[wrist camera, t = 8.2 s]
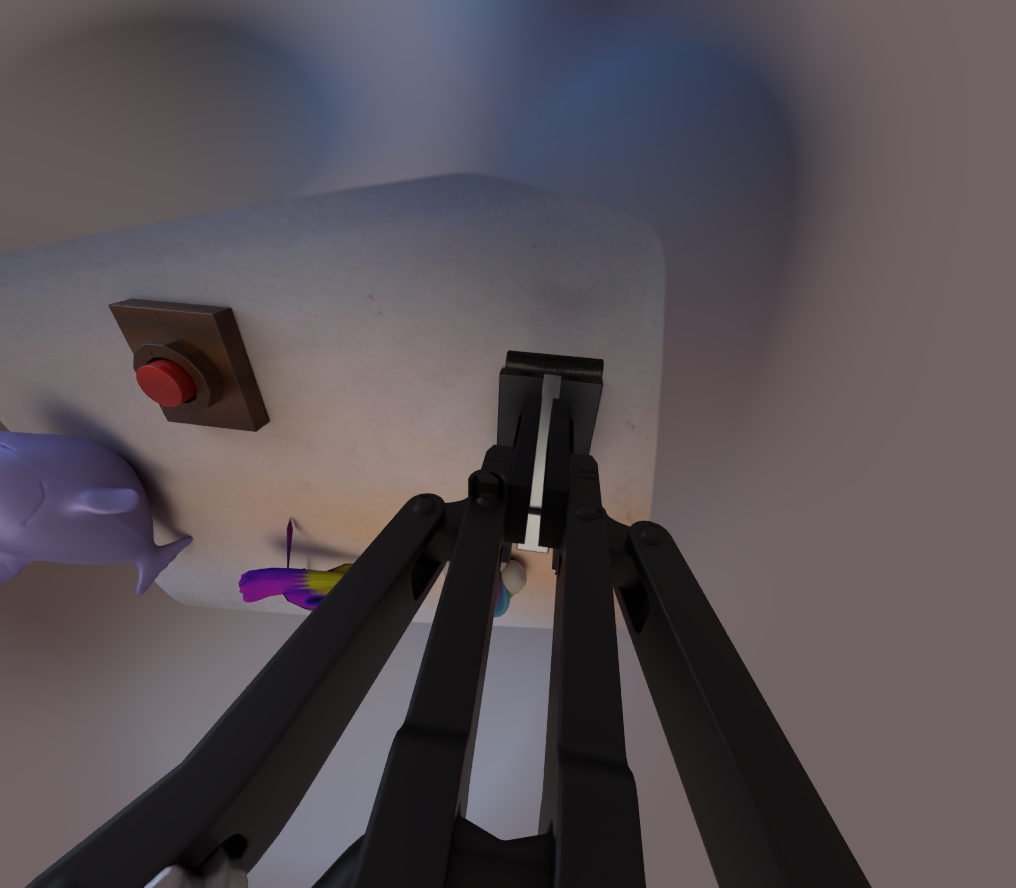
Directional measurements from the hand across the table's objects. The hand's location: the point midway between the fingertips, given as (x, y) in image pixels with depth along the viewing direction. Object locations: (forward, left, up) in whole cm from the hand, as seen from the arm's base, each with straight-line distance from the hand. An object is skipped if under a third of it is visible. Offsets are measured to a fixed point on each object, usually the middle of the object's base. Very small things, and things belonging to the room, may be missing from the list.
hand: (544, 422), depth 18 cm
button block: (+17, -31, -16) cm, 39 cm away
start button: (+17, -31, -13) cm, 37 cm away
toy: (+40, -15, -17) cm, 46 cm away
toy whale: (+39, -42, -17) cm, 60 cm away
